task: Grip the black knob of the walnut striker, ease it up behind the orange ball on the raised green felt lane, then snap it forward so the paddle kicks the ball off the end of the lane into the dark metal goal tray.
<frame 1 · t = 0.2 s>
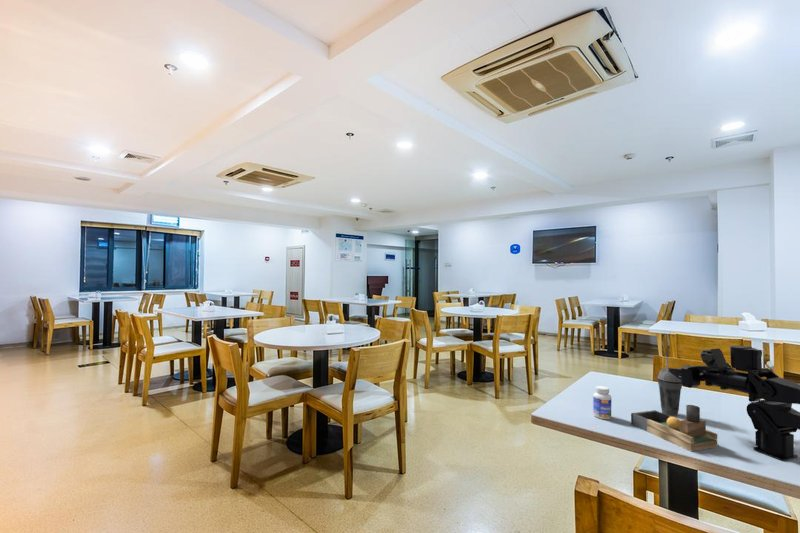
hand: (679, 368, 124), 16 cm above the table, tool horizontal, fingers open, 9 cm apart
striker: (693, 420, 105), point 7 cm above the table, slide at 0.0 cm
ball: (673, 429, 110), point 2 cm above the table, touching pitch
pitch: (680, 438, 108), on the table
beverage cup: (669, 414, 128), on the table
pill bottle: (602, 417, 124), on the table
goal: (651, 425, 117), on the table
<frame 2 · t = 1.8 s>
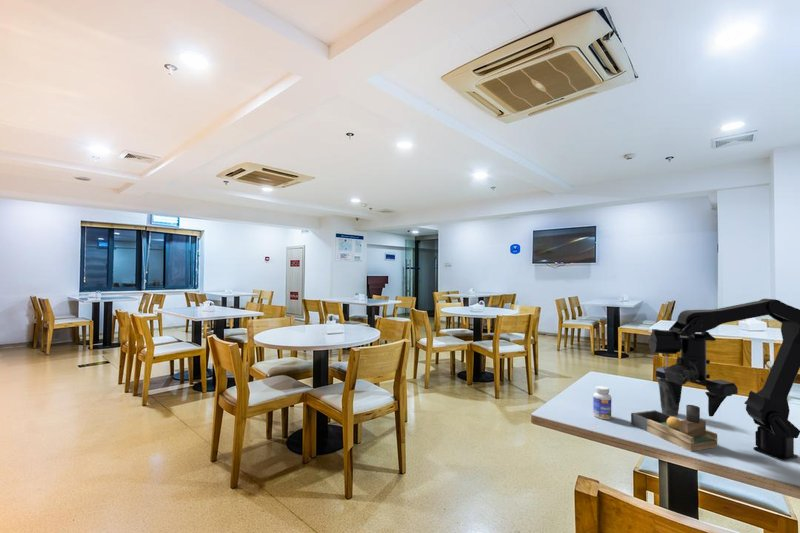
hand: (693, 410, 105), 10 cm above the table, tool pointing down, fingers open, 9 cm apart
nothing on the table moved.
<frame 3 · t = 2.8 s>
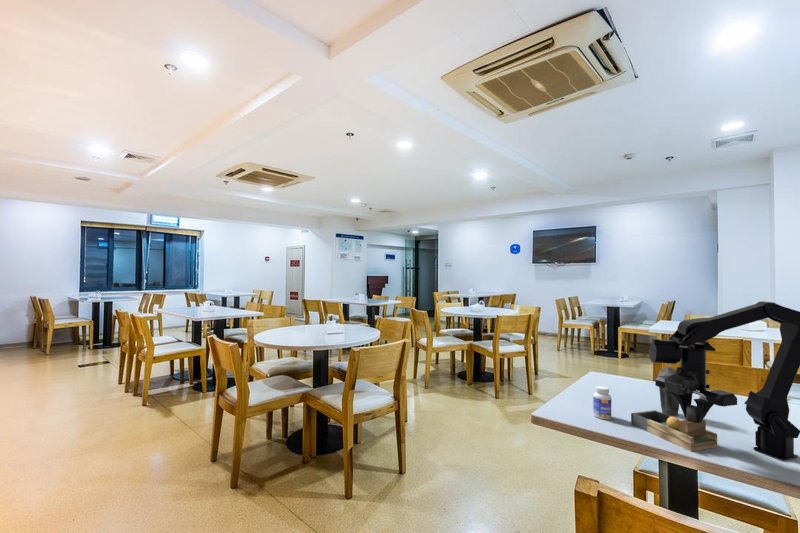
hand: (693, 420, 105), 7 cm above the table, tool pointing down, fingers closed on striker, 3 cm apart
striker: (693, 420, 105), point 7 cm above the table, slide at 0.0 cm, touching gripper
everything else where it was.
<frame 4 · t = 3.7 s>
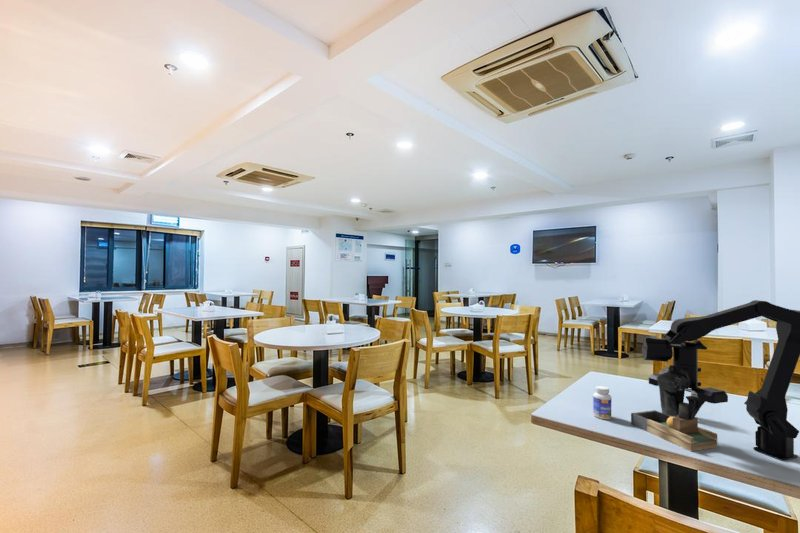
hand: (685, 417, 107), 7 cm above the table, tool pointing down, fingers closed on striker, 3 cm apart
striker: (685, 417, 107), point 7 cm above the table, slide at 2.2 cm, touching gripper
everything else where it was.
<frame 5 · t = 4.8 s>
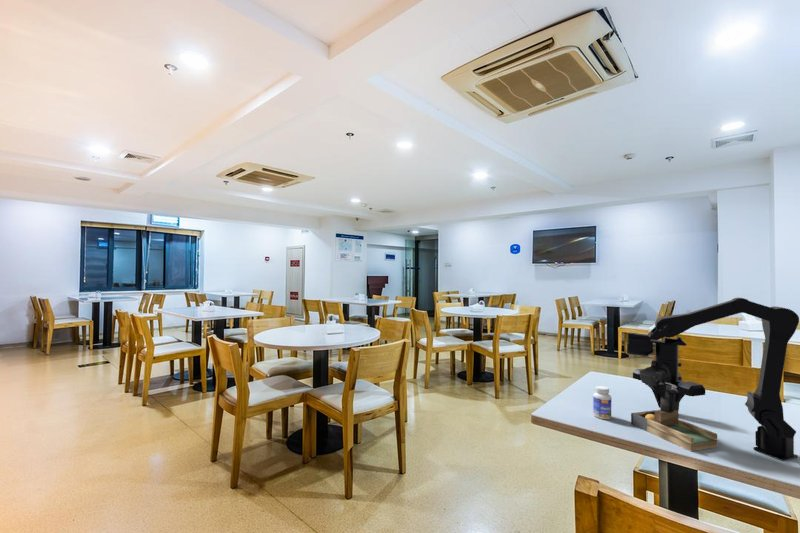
hand: (666, 409, 112), 7 cm above the table, tool pointing down, fingers closed on striker, 3 cm apart
striker: (666, 410, 112), point 7 cm above the table, slide at 7.8 cm, touching gripper
ball: (646, 416, 119), point 3 cm above the table, tilted 109°, touching goal
everything else where it was.
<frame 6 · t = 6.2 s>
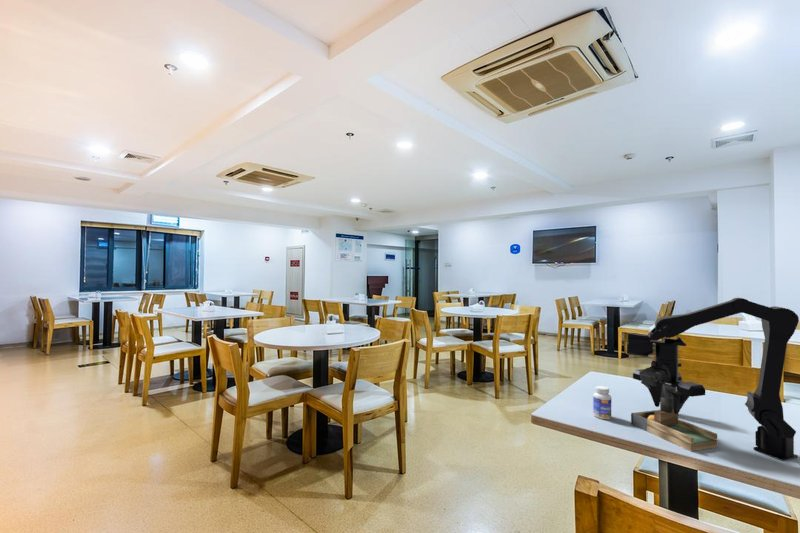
hand: (666, 410, 112), 7 cm above the table, tool pointing down, fingers open, 6 cm apart
striker: (666, 410, 112), point 7 cm above the table, slide at 7.8 cm
ball: (650, 415, 117), point 3 cm above the table, tilted 138°, touching goal
everything else where it was.
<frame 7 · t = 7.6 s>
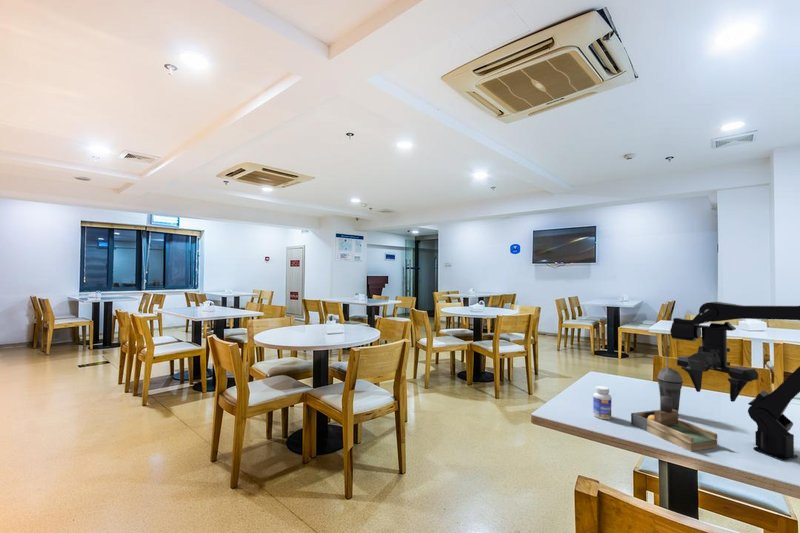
hand: (714, 396, 110), 12 cm above the table, tool pointing down, fingers open, 9 cm apart
nothing on the table moved.
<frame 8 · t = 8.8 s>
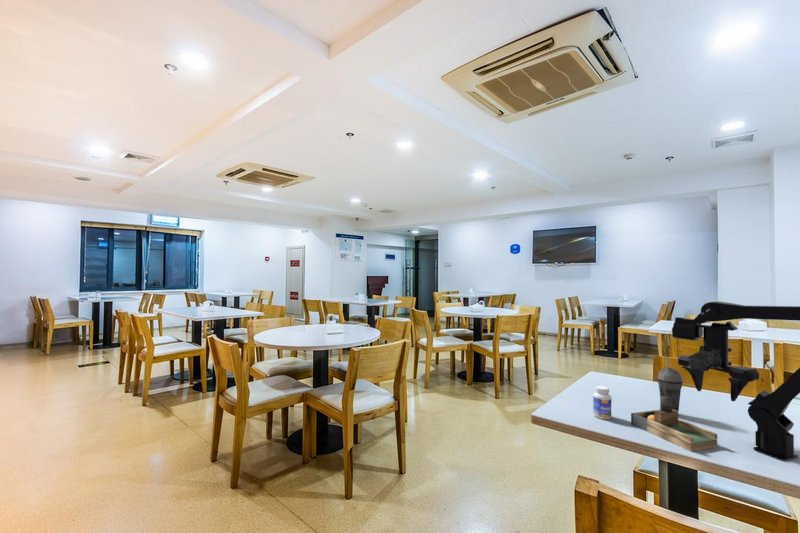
hand: (715, 395, 110), 12 cm above the table, tool pointing down, fingers open, 9 cm apart
nothing on the table moved.
at the end: ball inside the target area (0.2 cm from its centre), point 3.2 cm above the table; ball point 3.2 cm above the table; the gripper is holding nothing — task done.
